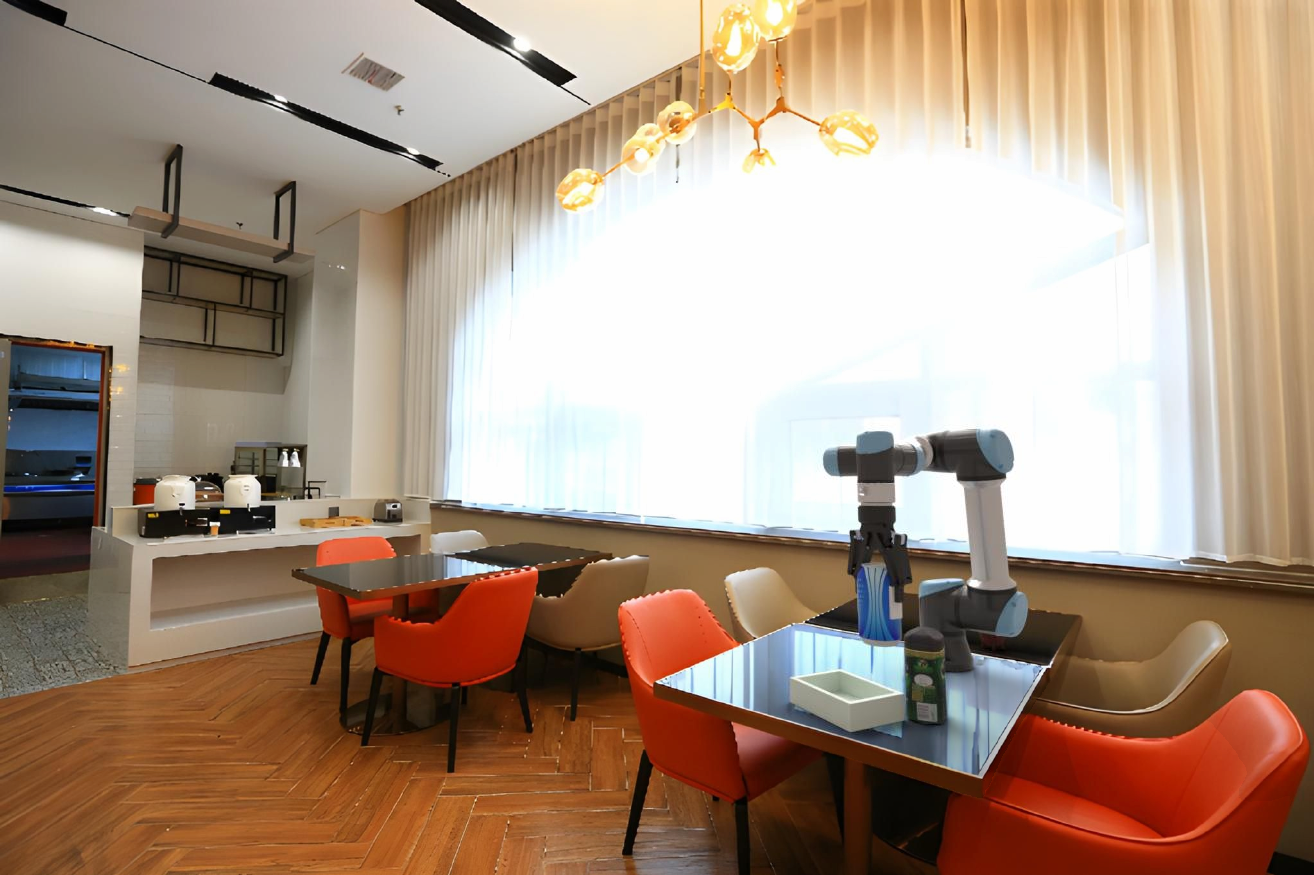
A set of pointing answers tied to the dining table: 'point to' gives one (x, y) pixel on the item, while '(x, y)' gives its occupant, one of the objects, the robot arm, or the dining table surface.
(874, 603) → the beer can
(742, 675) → the dining table surface
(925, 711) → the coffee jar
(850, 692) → the tote
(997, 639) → the mate gourd
